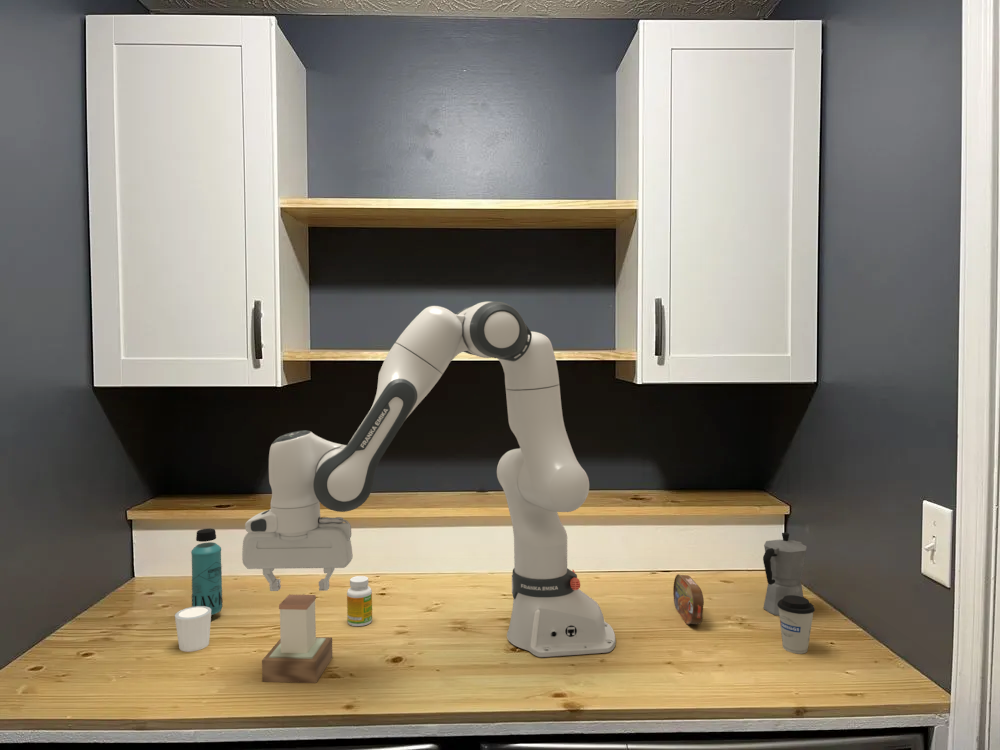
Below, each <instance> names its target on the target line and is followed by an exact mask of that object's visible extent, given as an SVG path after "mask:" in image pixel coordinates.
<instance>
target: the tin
mask: <svg viewBox="0 0 1000 750" xmlns="http://www.w3.org/2000/svg"><path fill="white" fill-rule="evenodd" d="M674 577H675V578H674V582H673V587H672V588H673V589H672V590H673V591H672V592H673V603H674V607H675V610H676V612H677V613H678V614H679V617H681V619H682V621H684V622H685V624H686V625H700V624H701V623H702V621H703V618H704V616H703V615H704V604H705V603H704V602H705V601H704V600H705V599H704V595H703V592H702V588H700V586H699V585H698V583H696V581H695V580H694V579H693V578H692V577H691V576H690V575H686V574H676V575H675V576H674Z"/></svg>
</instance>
